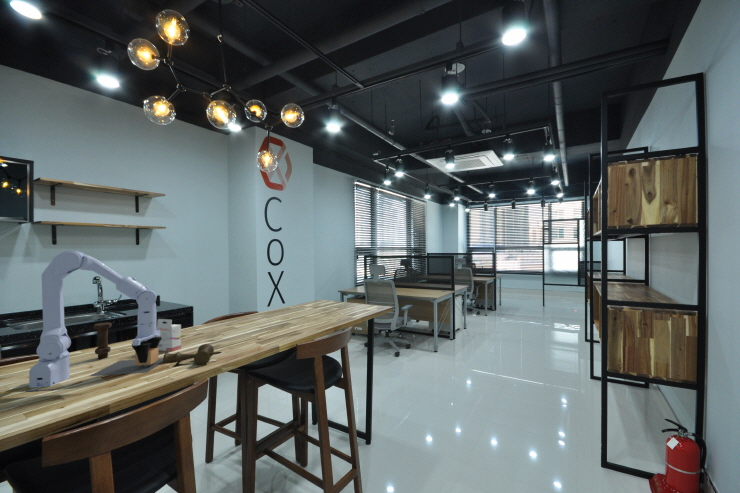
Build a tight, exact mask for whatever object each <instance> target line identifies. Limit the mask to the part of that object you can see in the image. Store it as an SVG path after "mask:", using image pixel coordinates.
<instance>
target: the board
mask: <svg viewBox="0 0 740 493" xmlns="http://www.w3.org/2000/svg"><path fill="white" fill-rule="evenodd" d="M161 364H164V363H163V357H161V358H159V357H158V360H157V361H156V362H154V363H153V364H151V365H135V359H126V360H125V359H124V360H122V359H121V360H118V361H115V362H114V363H112V364H110V365H109V366H106V367H104V368H102V369H100V370H98V371H96V372H94V373H92V374H90V375H89V377H96V376H97V377H98V376H114V375H115V376H116V375H130V374H145V373H146V374H147V373H149V372H151V371H152V370H153V369H154V368H155V369H156V368H157V367H158V366H159V365H161Z"/></svg>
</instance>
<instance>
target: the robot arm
mask: <svg viewBox="0 0 740 493" xmlns="http://www.w3.org/2000/svg"><path fill="white" fill-rule="evenodd" d="M52 257H53V256H52ZM77 270H81V271H90V272H94V273H95V274H97V275H99V276H101V277H102V278H104V279H106V280H108V281H109V282H110V283H113V284H114V285H115V288H116V290H117V291H118V292H120V293H122V294H124V295H125V296H126V297H128V298H130V299H131V300H136V303H137V306H138V308H137V309H138V310H137V335H136V337H135V338H134V339H133V340H132V344H131V348H132V349H133V351H134V353H136V354H137V356H138V360H139V363H146V362H147V358H148V351H149V348H157V347H158V345H159V343H160V341H161V339H162V337H158V336H160V330H157V322H158V319H157V304H156V301H157V297H158V296H157V293H156V292H155V291H154V290H153V289H152V288H149V286H147V285H143V284H142V283H140V282H139V281H138V280H137V279H138V278H136V277H131V276H122V275H121V274H119V273H118V272H117V271H115V270H113V269H112V268H110V267H109V266H107V265H106V264H105V263H103V262H102V261H101V260H98V259H97V258H95V257H93V256H92V255H89V254H86V253H85V252H84V251H81V250H71V249H70V250H64V251H62V252H59V254H57V255H55V256H54V257H53V258H52V260H51V262H49V264H47V267H46V268H44V271H43V272H42V273H41V296H42V298H41V299H42V300H41V301H42V302H41V303H42V332H41V335H40V337H39V338H40V341H39V345H38V346H37V348H36V355H37V356H38V361H37V363H36V364H35V363H34V365H32V366H31V367H30V368H29V369H30V370H29V371H28V372H29V373H28V374H29V375H28V376H29V377H28V378H29V379H28V382H29V383H28V387H29V388H31V389H33V388H34V389H35V388H44V387H45V388H46V387H49V388H50V387H52V386H54V385H56V384H58V383H62V382H65V381H67V380H69V379H70V367H71V366H70V359H71V358H70V355H71V354H70V352H69V351H68V349H69V348H70V346H71V344H72V341H71V340H72V339H71V338H70V336H69V335H68V329H67V328H66V326H65V305H64V304H65V303H64V300H65V299H64V298H65V296H64V279H65V278H66V277H68V276H69V275H70V274H72V273H73V272H75V271H77ZM55 390H56V388H50V389H35V390H26V391H25V392H26V393H31V392H43V391H44V392H46V391H55Z"/></svg>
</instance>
